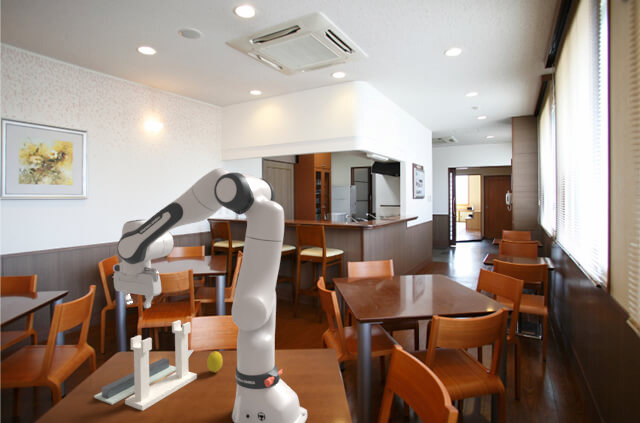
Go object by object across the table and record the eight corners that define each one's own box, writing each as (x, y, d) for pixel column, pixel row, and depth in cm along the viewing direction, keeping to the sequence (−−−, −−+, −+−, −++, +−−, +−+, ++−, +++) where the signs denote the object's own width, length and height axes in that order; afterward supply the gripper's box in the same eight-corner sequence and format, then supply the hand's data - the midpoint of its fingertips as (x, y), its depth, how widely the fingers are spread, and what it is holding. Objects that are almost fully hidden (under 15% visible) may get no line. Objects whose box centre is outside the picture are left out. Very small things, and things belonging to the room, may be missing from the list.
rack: (196, 378, 128) (196, 321, 127) (142, 410, 108) (141, 343, 107) (180, 373, 131) (179, 318, 131) (125, 404, 112) (123, 339, 111)
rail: (169, 367, 135) (169, 359, 135) (107, 398, 113) (107, 389, 113) (163, 365, 136) (163, 357, 136) (101, 396, 115) (101, 387, 115)
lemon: (218, 376, 129) (218, 355, 128) (204, 375, 130) (204, 353, 129) (225, 369, 134) (225, 348, 134) (211, 368, 135) (211, 347, 135)
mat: (178, 369, 135) (178, 367, 135) (111, 404, 111) (111, 402, 111) (161, 364, 139) (161, 362, 139) (94, 397, 115) (94, 395, 115)
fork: (194, 355, 152) (194, 349, 153) (184, 373, 132) (184, 365, 132) (187, 356, 152) (187, 349, 152) (176, 374, 131) (176, 366, 132)
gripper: (165, 266, 122) (166, 306, 122) (126, 263, 131) (127, 300, 131) (149, 270, 116) (150, 312, 117) (109, 265, 125) (110, 304, 126)
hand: (138, 305), depth 124 cm, fingers open, 8 cm apart
